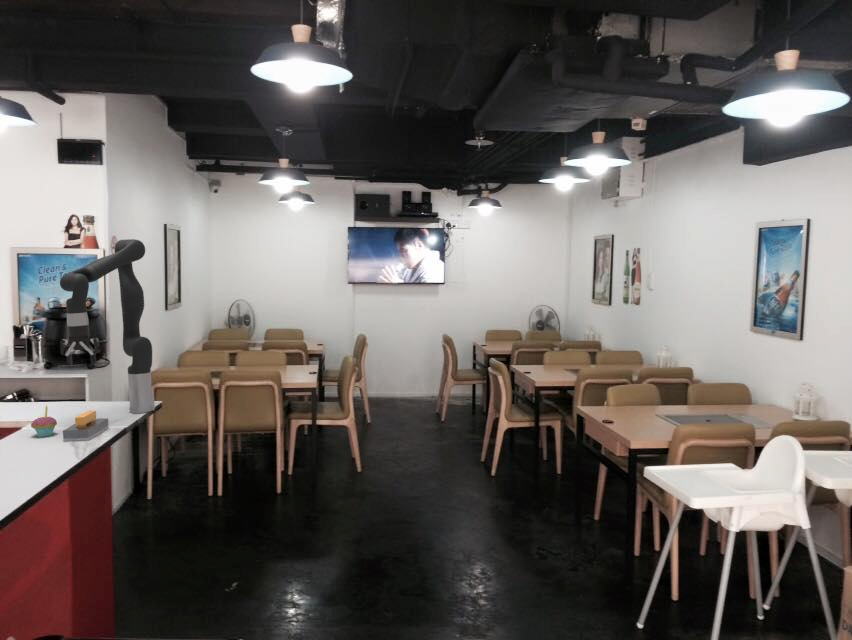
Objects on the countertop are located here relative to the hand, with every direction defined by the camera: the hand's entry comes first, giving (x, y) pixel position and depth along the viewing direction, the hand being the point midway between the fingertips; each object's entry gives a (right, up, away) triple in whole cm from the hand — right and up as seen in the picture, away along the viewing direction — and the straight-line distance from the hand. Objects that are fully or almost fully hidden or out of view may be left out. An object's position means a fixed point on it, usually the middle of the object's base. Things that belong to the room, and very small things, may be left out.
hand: (81, 364), depth 263 cm
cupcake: (-9, -27, -10) cm, 30 cm away
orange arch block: (+7, -25, -10) cm, 28 cm away
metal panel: (+7, -26, -10) cm, 29 cm away
